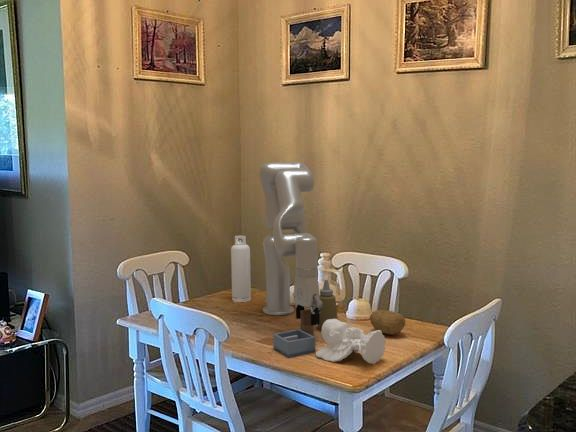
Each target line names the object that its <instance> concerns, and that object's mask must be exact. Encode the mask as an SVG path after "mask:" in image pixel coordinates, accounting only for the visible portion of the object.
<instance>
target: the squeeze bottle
mask: <svg viewBox="0 0 576 432" xmlns="http://www.w3.org/2000/svg"><path fill="white" fill-rule="evenodd" d="M322 287H323V288H320V289H319V299H320V300H321V301H322V307H321V311H320V313H319V314H320V324H319V325H317V327H318V329H319V330H321V331H322V326H323V323H324V322H325V321H326V320H328V319H337V320H339V319H338V310H337V309H338V308H337V301H336V296H335V295H334V293H333V292H334V290H333V289H331V288H330V284H329V279H324V283H323V286H322Z"/></svg>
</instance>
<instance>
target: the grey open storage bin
mask: <svg viewBox="0 0 576 432" xmlns="http://www.w3.org/2000/svg"><path fill="white" fill-rule="evenodd" d="M272 338H273V339H272V343H273V344H272V346H273V347H272V348H273V350H275V351H276V352H278V353H280V354H281V355H282V356H285V357H286V358H288V359H289V358H294V357H298V356H299V357H300V356H303V355H308V354H312V353H316V337H315V335H314V336H312V335H310V334H308V333H306V332H304V331H302V330H301V328H298V329H293V330H288V331H287V330H286V331H282V332H281V331H280V332H277V333H273V335H272Z"/></svg>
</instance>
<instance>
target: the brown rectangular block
mask: <svg viewBox="0 0 576 432" xmlns="http://www.w3.org/2000/svg"><path fill="white" fill-rule="evenodd" d="M311 314H312V312H311V310H310V308H306V309H304V310H301V319H300V330H302V331H304V332H306V333H308V334H310V335H312V336H314V337H315V334H314V333H315V331H314V326H315V325H313V326H312V325H311Z"/></svg>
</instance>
